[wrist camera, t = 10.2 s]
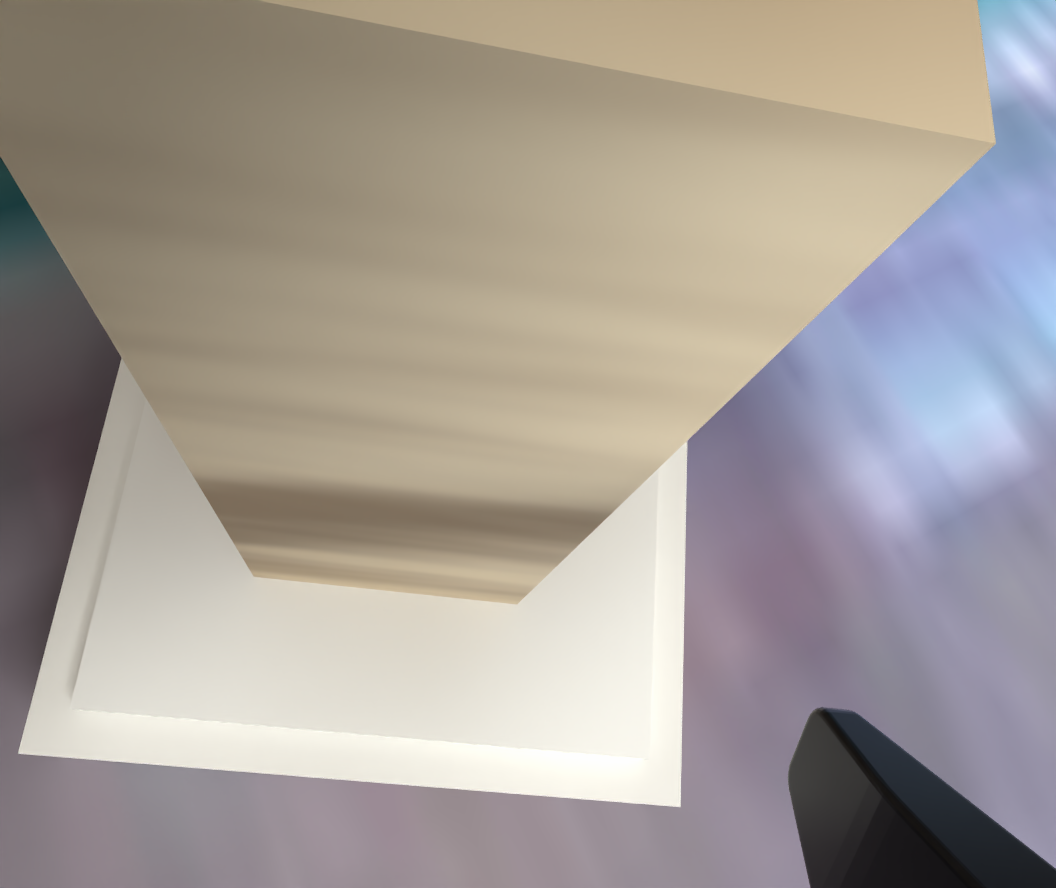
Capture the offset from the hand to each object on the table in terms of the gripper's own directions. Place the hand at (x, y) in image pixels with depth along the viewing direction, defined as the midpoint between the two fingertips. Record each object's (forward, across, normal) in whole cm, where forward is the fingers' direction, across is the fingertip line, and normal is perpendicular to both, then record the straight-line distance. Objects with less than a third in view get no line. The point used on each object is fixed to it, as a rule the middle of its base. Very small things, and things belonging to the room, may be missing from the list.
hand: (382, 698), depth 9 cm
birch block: (+9, 0, +2) cm, 9 cm away
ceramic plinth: (+11, 0, +4) cm, 12 cm away
